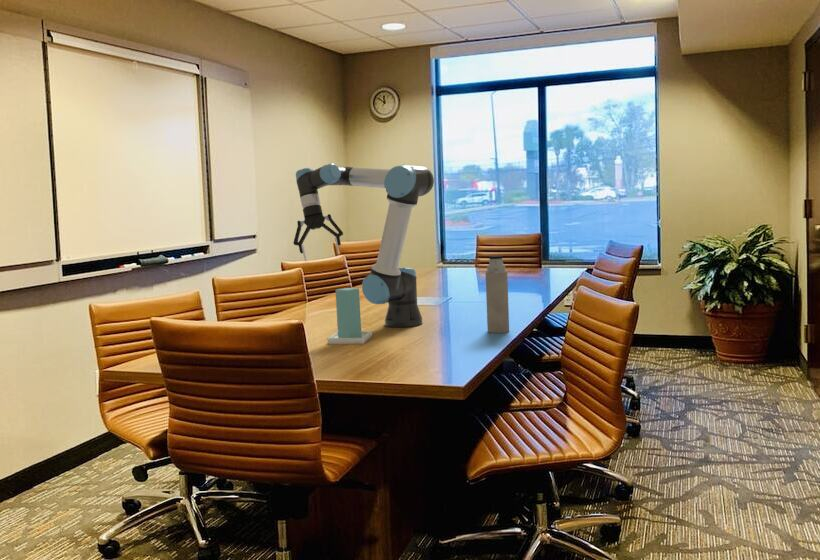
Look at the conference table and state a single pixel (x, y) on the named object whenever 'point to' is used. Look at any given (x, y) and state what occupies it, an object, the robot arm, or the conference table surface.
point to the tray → (350, 339)
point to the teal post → (348, 313)
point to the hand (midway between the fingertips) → (322, 257)
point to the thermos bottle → (497, 296)
